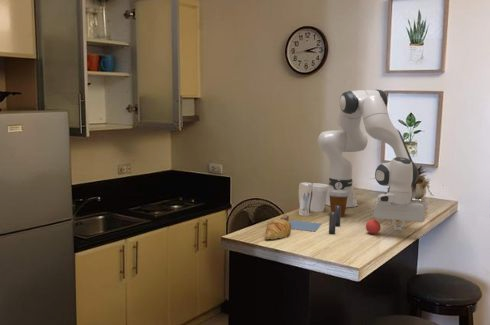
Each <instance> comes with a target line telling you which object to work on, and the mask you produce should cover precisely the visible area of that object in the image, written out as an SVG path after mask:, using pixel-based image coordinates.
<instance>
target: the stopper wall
mask: <svg viewBox="0 0 490 325" xmlns="http://www.w3.org/2000/svg"><path fill="white" fill-rule="evenodd" d="M289 218H290V216H289V215H283V216H281V217H280V218H279V219H285V220H286V221H287V222H289Z"/></svg>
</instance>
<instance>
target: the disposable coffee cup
mask: <svg viewBox="0 0 490 325" xmlns="http://www.w3.org/2000/svg"><path fill="white" fill-rule="evenodd" d="M348 195H349V194H348V191H346V190H340V189H333V190H330V191H329V196H330V206H329V207H330V212H335V206H336V205H339V206H341V218H344V217H345V216H346V215H345V213H346V209H347V207H346V203H347V198H348Z"/></svg>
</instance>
